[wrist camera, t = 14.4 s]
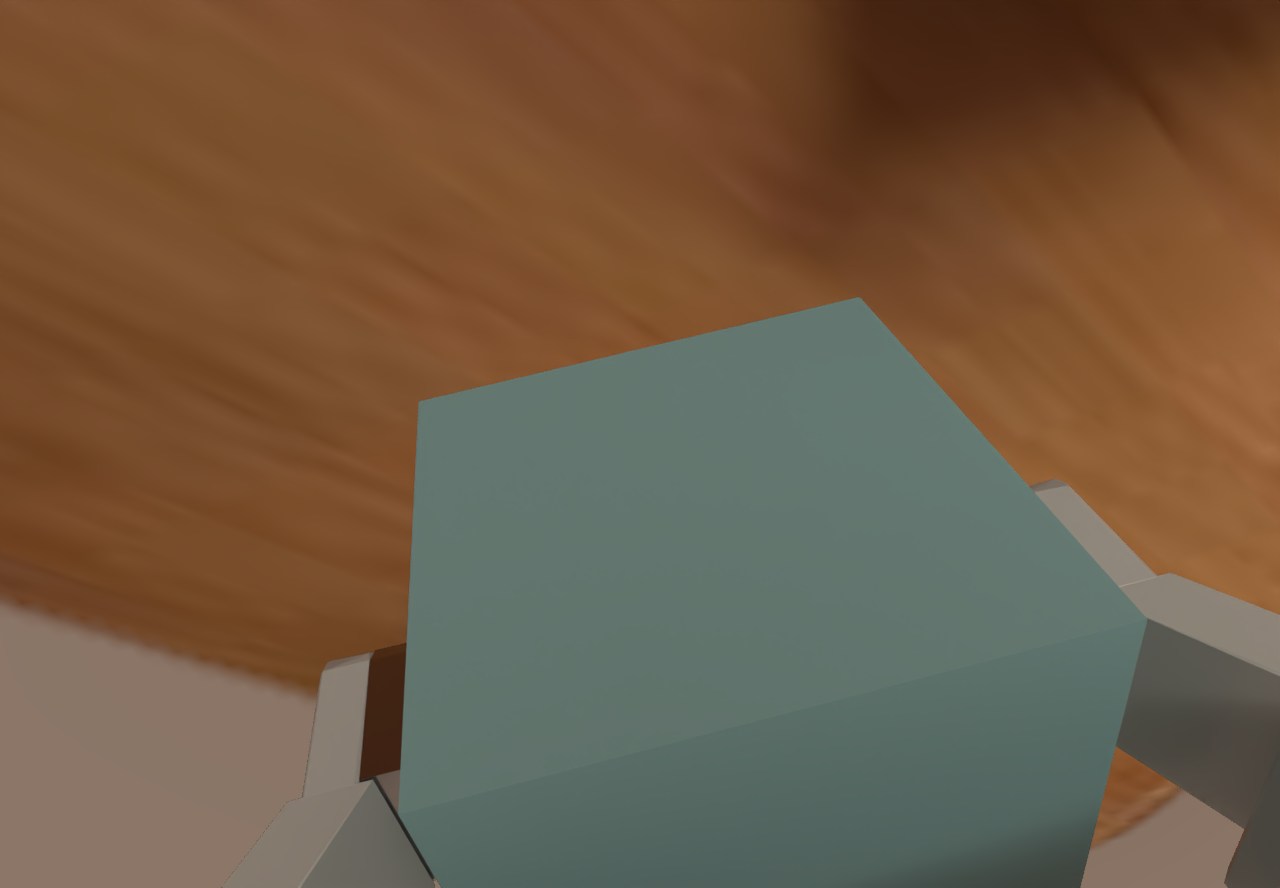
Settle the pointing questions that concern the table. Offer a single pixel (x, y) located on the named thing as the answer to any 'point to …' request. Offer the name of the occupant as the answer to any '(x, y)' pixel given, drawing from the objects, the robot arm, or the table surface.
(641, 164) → the table surface
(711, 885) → the teal cube
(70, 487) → the table surface
